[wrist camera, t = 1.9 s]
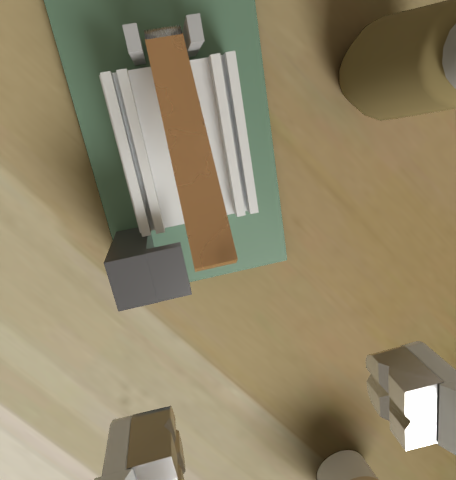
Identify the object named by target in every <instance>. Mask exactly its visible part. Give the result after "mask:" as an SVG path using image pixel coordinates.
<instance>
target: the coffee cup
mask: <svg viewBox="0 0 456 480" xmlns="http://www.w3.org/2000/svg"><path fill="white" fill-rule="evenodd" d="M317 480H378V478H377V477H376V475H375V474H374V472H373V471H372V470H371V468H370V467H369V465H368V464H367V462H366V461H365V460H364V458H363V457H362V455H361V454H359V453H358V452H356V451H352V450H344V451H340V452H337V453H334V454H332V455H331V456H329V457H328V458H327V459H325V460H324V461H323V463H322V464H321V465H320V467H319V469H318V472H317Z"/></svg>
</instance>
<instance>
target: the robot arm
mask: <svg viewBox="0 0 456 480" xmlns="http://www.w3.org/2000/svg"><path fill="white" fill-rule="evenodd" d="M366 368H367V369H368V371H369V372H370V373H371V375H370V377H369V378H368V380H367V389H368V394H369V397H370V400H371V402H372V404H373V406H374V408H375V410H376V411H377V413H378V414H379V416H380V417H382V418H384V419H386V420H388V421H390V431H391V432H392V433H393V435H394V436H395V437H396V439H397V440H398V441H399V443H400V444H401V445H402V447H403V448H404V449H405V451H408V450H412V449H416V448H419V447H423V446H427V445H431V444H435V443H438V445H439V446H441V447H443V448H445V449H446V450H448V451H450V452H451V453H453V454H455V455H456V370H455V369H454V368H453V367H452V366H450V365H449V364H448V363H447V362H446V361H445V360H443V359H442V358H441V357H440V356H439V355H437V354H436V353H435V352H434V351H433V350H432V349H430V348H429V347H428V346H427V345H426V344H424V343H423V342H421V341H416V342H412V343H409V344H405V345H402V346H400V347H396V348H392V349H388V350H384V351H381V352H377V353H373V354H369V355H367V357H366ZM184 472H185V461H184V453H183V447H182V442H181V438H180V434H179V431H178V430H176V424H175V416H174V412H173V409H172V407H171V406H169V407H164V408H160V409H156V410H152V411H147V412H143V413H139V414H134V415H133V416H128V417H123V418H119V419H115V420H113V421H112V423H111V425H110V429H109V435H108V441H107V447H106V453H105V459H104V465H103V471H102V477H98V478H95V479H94V480H184V477H183V474H184Z"/></svg>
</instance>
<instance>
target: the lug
mask: <svg viewBox="0 0 456 480" xmlns="http://www.w3.org/2000/svg"><path fill="white" fill-rule="evenodd" d="M104 265H105V268H106V272H107V275H108V278H109V282H110V285H111V288H112V292H113V295H114V298H115V302H116V305H117V308H118V311H123V310H127V309H131V308H136V307H140V306H144V305H149V304H153V303H158V302H161V301H165V300H169V299H174V298H178V297H182V296H187V295H191V294H192V293H191V287H190V283H189V278H188V274H187V269H186V265H185V260H184V256H183V251H182V247H181V243H180V242H178V243H173V244H168V245H163V246H159V247H154V244H153V240H152V236H151V235H149V236H144V237H142V234H141V233H140V232H139V228H138V227H137V228H132V229H127V230H123V231H118V232H116V233H115V236H114V238H113V241H112V243H111V246H110V249H109V251H108V254H107V256H106V259H105V261H104Z"/></svg>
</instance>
